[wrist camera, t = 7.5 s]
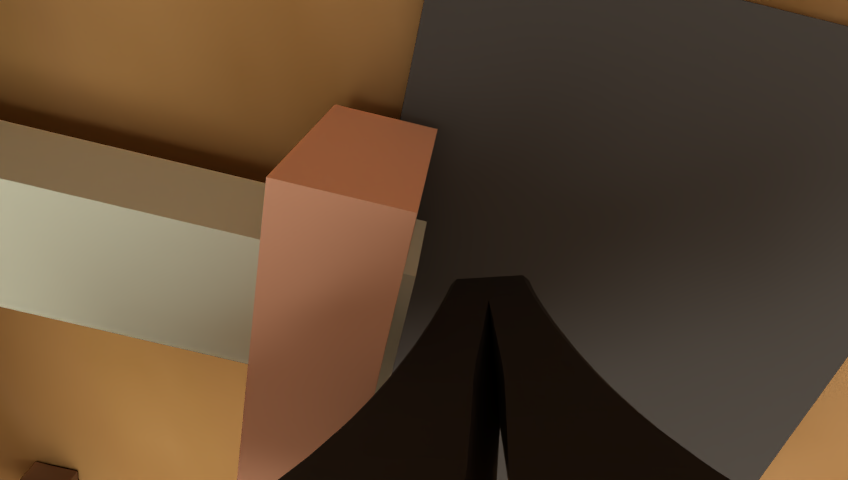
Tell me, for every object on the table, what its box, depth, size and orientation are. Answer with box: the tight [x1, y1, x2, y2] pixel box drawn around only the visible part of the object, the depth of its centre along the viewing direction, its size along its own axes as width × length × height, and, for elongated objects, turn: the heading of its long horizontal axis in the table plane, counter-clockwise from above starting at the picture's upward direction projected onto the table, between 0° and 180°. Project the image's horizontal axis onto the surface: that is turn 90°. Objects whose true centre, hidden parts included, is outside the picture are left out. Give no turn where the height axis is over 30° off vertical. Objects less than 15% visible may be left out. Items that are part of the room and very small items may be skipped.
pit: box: [391, 0, 848, 480], centre depth 12 cm, size 10×12×1 cm
